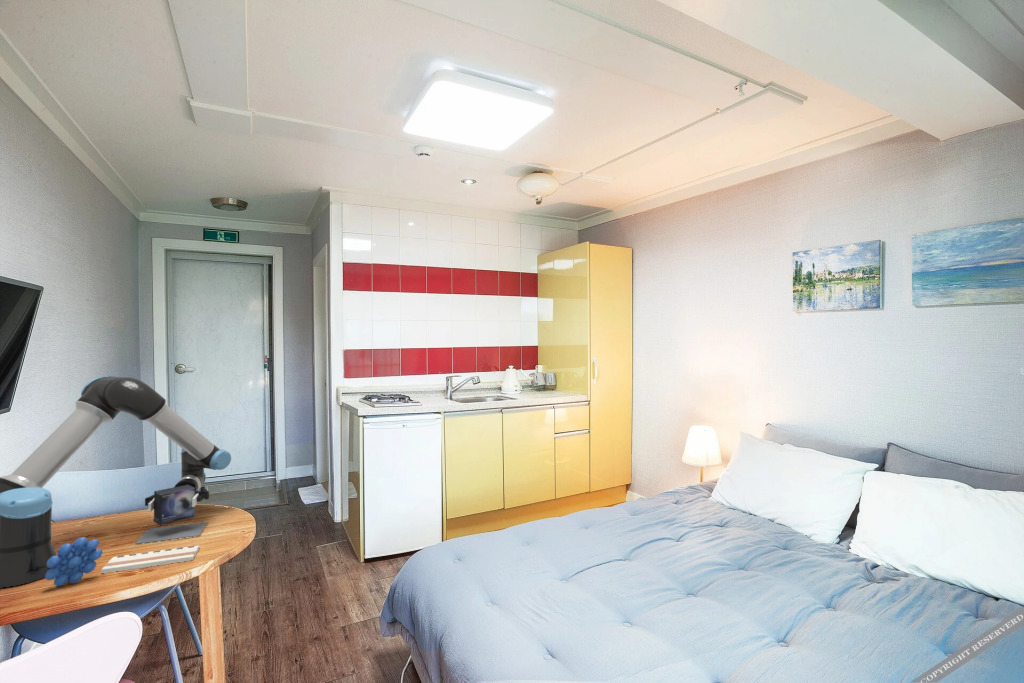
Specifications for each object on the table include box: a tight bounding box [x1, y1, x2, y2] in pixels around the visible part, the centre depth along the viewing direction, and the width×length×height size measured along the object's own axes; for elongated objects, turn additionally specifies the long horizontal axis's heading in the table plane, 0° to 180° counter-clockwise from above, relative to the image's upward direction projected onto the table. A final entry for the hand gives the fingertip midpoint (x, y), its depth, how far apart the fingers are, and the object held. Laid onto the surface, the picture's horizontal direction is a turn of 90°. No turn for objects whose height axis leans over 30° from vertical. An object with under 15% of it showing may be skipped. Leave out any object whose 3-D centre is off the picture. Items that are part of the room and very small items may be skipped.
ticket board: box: [100, 545, 200, 574], centre depth 145 cm, size 22×9×1 cm, turn 113°
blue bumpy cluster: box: [44, 536, 104, 587], centre depth 132 cm, size 12×7×12 cm, turn 137°
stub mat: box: [134, 521, 209, 545], centre depth 167 cm, size 18×14×1 cm
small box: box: [152, 485, 196, 526], centre depth 167 cm, size 11×6×10 cm, turn 143°
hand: (171, 505), depth 164 cm, fingers closed on small box, 12 cm apart
